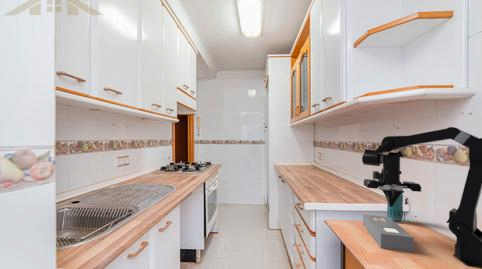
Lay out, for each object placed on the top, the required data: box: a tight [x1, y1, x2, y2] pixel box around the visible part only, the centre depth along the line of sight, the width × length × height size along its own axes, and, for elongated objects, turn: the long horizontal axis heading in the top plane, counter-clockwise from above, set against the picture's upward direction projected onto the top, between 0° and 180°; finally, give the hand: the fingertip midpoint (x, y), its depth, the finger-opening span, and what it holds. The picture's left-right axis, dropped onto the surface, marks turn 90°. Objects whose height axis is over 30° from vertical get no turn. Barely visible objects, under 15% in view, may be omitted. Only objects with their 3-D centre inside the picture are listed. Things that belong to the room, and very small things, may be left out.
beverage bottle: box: [386, 187, 404, 221], centre depth 108 cm, size 6×7×20 cm
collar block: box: [362, 214, 415, 253], centre depth 88 cm, size 10×22×5 cm, turn 166°
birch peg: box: [373, 217, 387, 222], centre depth 94 cm, size 4×4×5 cm
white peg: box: [383, 228, 399, 233], centre depth 83 cm, size 4×4×5 cm
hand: (390, 206), depth 89 cm, fingers closed
